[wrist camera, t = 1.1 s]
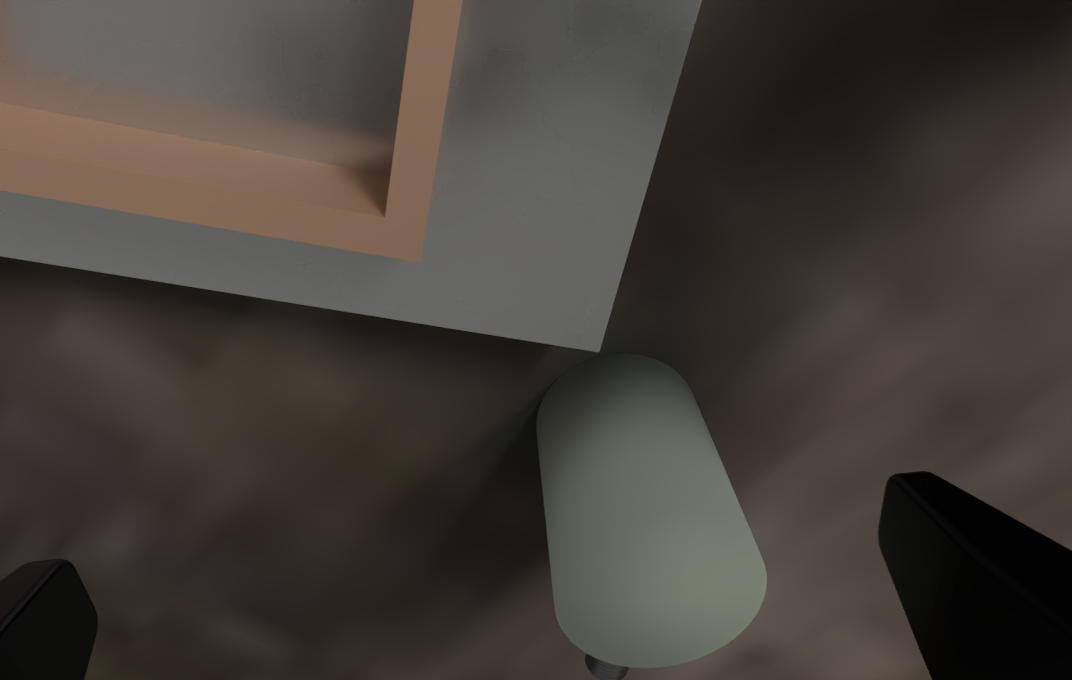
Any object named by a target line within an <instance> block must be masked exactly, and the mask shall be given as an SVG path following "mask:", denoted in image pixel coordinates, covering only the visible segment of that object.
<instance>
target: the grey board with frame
mask: <svg viewBox="0 0 1072 680" xmlns="http://www.w3.org/2000/svg"><path fill="white" fill-rule="evenodd" d="M701 2H702V0H0V256H2V257H8V258H14V259H21V260H27V261H33V262H39V263H46V264H52V265H58V266H64V267H70V268H77V269H83V270H89V271H95V272H102V273H108V274H114V275H120V276H127V277H133V278H139V279H145V280H151V281H158V282H164V283H170V284H176V285H183V286H189V287H195V288H201V289H208V290H214V291H220V292H226V293H232V294H239V295H245V296H251V297H257V298H264V299H270V300H276V301H282V302H289V303H295V304H301V305H307V306H313V307H320V308H326V309H332V310H338V311H345V312H351V313H357V314H363V315H370V316H376V317H382V318H388V319H394V320H401V321H407V322H413V323H419V324H426V325H432V326H438V327H444V328H451V329H457V330H463V331H469V332H475V333H482V334H488V335H494V336H500V337H507V338H513V339H519V340H525V341H532V342H538V343H544V344H550V345H556V346H563V347H569V348H575V349H581V350H588V351H594V352H599V351H600V348H601V344H602V341H603V337H604V334H605V331H606V327H607V324H608V320H609V317H610V314H611V310H612V307H613V303H614V300H615V296H616V293H617V290H618V286H619V283H620V279H621V276H622V272H623V269H624V266H625V262H626V259H627V255H628V252H629V248H630V245H631V242H632V238H633V235H634V231H635V228H636V225H637V221H638V218H639V214H640V211H641V207H642V204H643V201H644V197H645V194H646V190H647V187H648V183H649V180H650V177H651V173H652V170H653V166H654V163H655V160H656V156H657V153H658V149H659V146H660V142H661V139H662V136H663V132H664V129H665V125H666V122H667V118H668V115H669V112H670V108H671V105H672V101H673V98H674V94H675V91H676V88H677V84H678V81H679V77H680V74H681V71H682V67H683V64H684V60H685V57H686V53H687V50H688V47H689V43H690V40H691V36H692V33H693V29H694V26H695V23H696V19H697V16H698V12H699V9H700V5H701Z"/></svg>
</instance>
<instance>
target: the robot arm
mask: <svg viewBox="0 0 1072 680" xmlns="http://www.w3.org/2000/svg"><path fill="white" fill-rule="evenodd" d="M878 541H879V546H880V550H881V553H882V556H883V558H884V561H885V563H886V566H887V568H888V571H889V573H890V576H891V579H892V581H893V584H894V586H895V589H896V591H897V594H898V596H899V599H900V601H901V604H902V606H903V609H904V611H905V614H906V616H907V619H908V621H909V624H910V627H911V629H912V632H913V634H914V637H915V639H916V642H917V644H918V647H919V649H920V652H921V654H922V657H923V659H924V662H925V664H926V666H927V669H928V671H929V673H930V676H931V678H932V680H1072V551H1071V550H1070V549H1068V548H1066V547H1064V546H1062V545H1061V544H1059V543H1057V542H1055V541H1053V540H1052V539H1050V538H1048V537H1046V536H1044V535H1043V534H1041V533H1039V532H1037V531H1036V530H1034V529H1032V528H1030V527H1028V526H1027V525H1025V524H1023V523H1021V522H1019V521H1018V520H1016V519H1014V518H1012V517H1010V516H1009V515H1007V514H1005V513H1003V512H1001V511H1000V510H998V509H996V508H994V507H992V506H991V505H989V504H987V503H985V502H983V501H982V500H980V499H978V498H976V497H974V496H973V495H971V494H969V493H967V492H965V491H964V490H962V489H960V488H958V487H956V486H955V485H953V484H951V483H949V482H948V481H946V480H944V479H942V478H940V477H939V476H937V475H935V474H933V473H930V472H926V471H919V472H909V473H899V474H894V475H892V476H891V477H890V478H889V479H888V481H887V483H886V486H885V492H884V498H883V503H882V509H881V515H880V520H879V526H878ZM97 626H98V620H97V613H96V610H95V607H94V605H93V603H92V601H91V599H90V597H89V595H88V593H87V591H86V589H85V587H84V585H83V583H82V581H81V579H80V577H79V575H78V573H77V571H76V569H75V567H74V565H73V564H72V563H70V562H69V561H67V560H64V559H54V560H45V561H35V562H30V563H27V564H24V565H22V566H21V567H19V568H18V569H17V570H15V571H14V572H12V573H11V574H10V575H8V576H7V577H6V578H4V579H3V580H1V581H0V680H84V678H85V674H86V671H87V667H88V663H89V660H90V656H91V652H92V649H93V645H94V641H95V638H96V634H97Z"/></svg>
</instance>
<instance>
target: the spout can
mask: <svg viewBox="0 0 1072 680" xmlns="http://www.w3.org/2000/svg"><path fill="white" fill-rule="evenodd" d="M536 433H537V442H538V452H539V462H540V471H541V481H542V491H543V501H544V510H545V520H546V530H547V539H548V549H549V559H550V568H551V578H552V588H553V598H554V607H555V613H556V617H557V620H558V623H559V625H560V627H561V629H562V630H563V632H564V634H565V635H566V636H567V637H568V638H569V640H570V641H571V642H572V643H573V644H575V645H576V646H577V647H578V648H579V649H581V650H582V651H584V652H585V653H586V656H585V661H586V665H587V667H588V669H589V670H590V671H591V673H592V674H593V675H595V676H596V677H598V678H599V679H601V680H621V679H622V678H624V677H625V675H626V674H627V671H628V669H629V667H632V668H659V667H667V666H673V665H678V664H683V663H686V662H689V661H693V660H696V659H698V658H701V657H703V656H706V655H708V654H710V653H712V652H714V651H716V650H718V649H720V648H721V647H723V646H724V645H726V644H727V643H729V642H730V641H732V640H733V639H734V638H735V637H737V636H738V635H739V634H740V633H741V632H742V631H743V630H744V629H745V628H746V627H747V626H748V625H749V624H750V622H751V621H752V620H753V619H754V617H755V616H756V614H757V612H758V611H759V609H760V607H761V605H762V602H763V599H764V596H765V592H766V586H767V575H766V568H765V565H764V562H763V559H762V557H761V554H760V552H759V550H758V547H757V545H756V542H755V540H754V538H753V535H752V533H751V531H750V528H749V526H748V523H747V521H746V519H745V516H744V514H743V512H742V509H741V507H740V505H739V502H738V500H737V497H736V495H735V493H734V490H733V488H732V486H731V483H730V481H729V478H728V476H727V474H726V471H725V469H724V467H723V464H722V462H721V459H720V457H719V455H718V452H717V450H716V448H715V445H714V443H713V441H712V438H711V436H710V433H709V431H708V429H707V426H706V424H705V422H704V419H703V417H702V414H701V412H700V410H699V407H698V405H697V403H696V400H695V398H694V395H693V393H692V391H691V389H690V387H689V386H688V384H687V383H686V381H685V380H684V379H683V377H682V376H681V375H680V374H679V373H678V372H676V371H675V370H674V369H673V368H671V367H670V366H668V365H667V364H665V363H663V362H661V361H659V360H656V359H654V358H651V357H647V356H643V355H639V354H629V353H621V354H609V355H604V356H600V357H595V358H593V359H590V360H587V361H584V362H582V363H580V364H578V365H576V366H574V367H573V368H571V369H570V370H568V371H567V372H565V373H564V374H563V375H562V376H561V377H560V378H558V379H557V380H556V381H555V383H554V384H553V385H552V386H551V387H550V388H549V390H548V391H547V393H546V394H545V396H544V398H543V400H542V402H541V404H540V407H539V410H538V414H537V419H536Z"/></svg>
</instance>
